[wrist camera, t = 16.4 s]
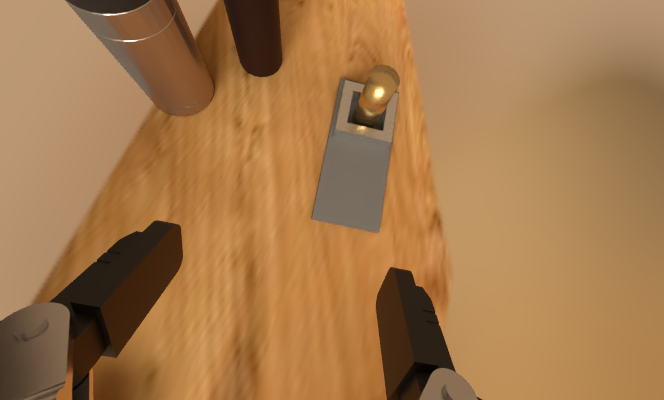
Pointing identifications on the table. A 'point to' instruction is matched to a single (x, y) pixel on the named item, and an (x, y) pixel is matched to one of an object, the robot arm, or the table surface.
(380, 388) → the table surface
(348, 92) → the collar
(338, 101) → the grey base plate
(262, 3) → the bottle
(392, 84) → the pin
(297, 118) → the table surface
